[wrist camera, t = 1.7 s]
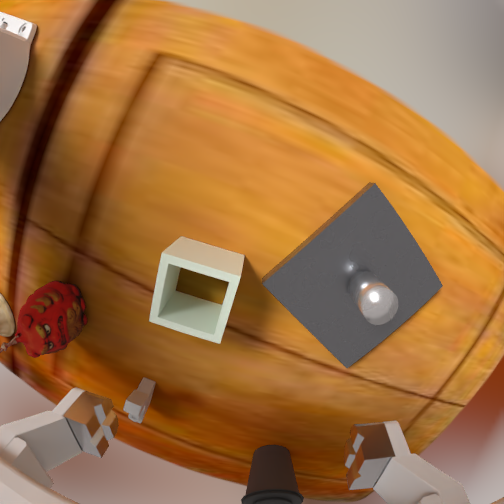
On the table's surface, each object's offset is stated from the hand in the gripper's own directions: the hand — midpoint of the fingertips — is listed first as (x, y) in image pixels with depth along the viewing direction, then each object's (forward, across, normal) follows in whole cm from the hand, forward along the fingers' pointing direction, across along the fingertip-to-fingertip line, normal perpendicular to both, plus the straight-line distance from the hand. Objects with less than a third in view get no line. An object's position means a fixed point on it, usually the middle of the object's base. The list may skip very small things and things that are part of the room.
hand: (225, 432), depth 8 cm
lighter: (+21, +14, +17) cm, 30 cm away
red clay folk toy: (+20, +23, +7) cm, 32 cm away
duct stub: (+22, -10, +2) cm, 24 cm away
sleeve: (+21, +6, +2) cm, 22 cm away
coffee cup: (+22, -3, +30) cm, 37 cm away
